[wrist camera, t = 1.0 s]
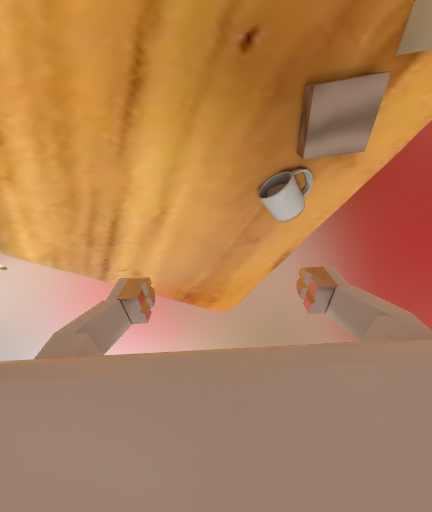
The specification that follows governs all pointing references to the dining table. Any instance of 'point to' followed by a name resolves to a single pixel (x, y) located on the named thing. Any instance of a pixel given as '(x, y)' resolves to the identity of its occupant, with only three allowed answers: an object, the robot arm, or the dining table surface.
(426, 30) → the sage block
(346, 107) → the walnut block
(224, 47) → the dining table surface
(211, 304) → the dining table surface
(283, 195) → the ceramic mug
